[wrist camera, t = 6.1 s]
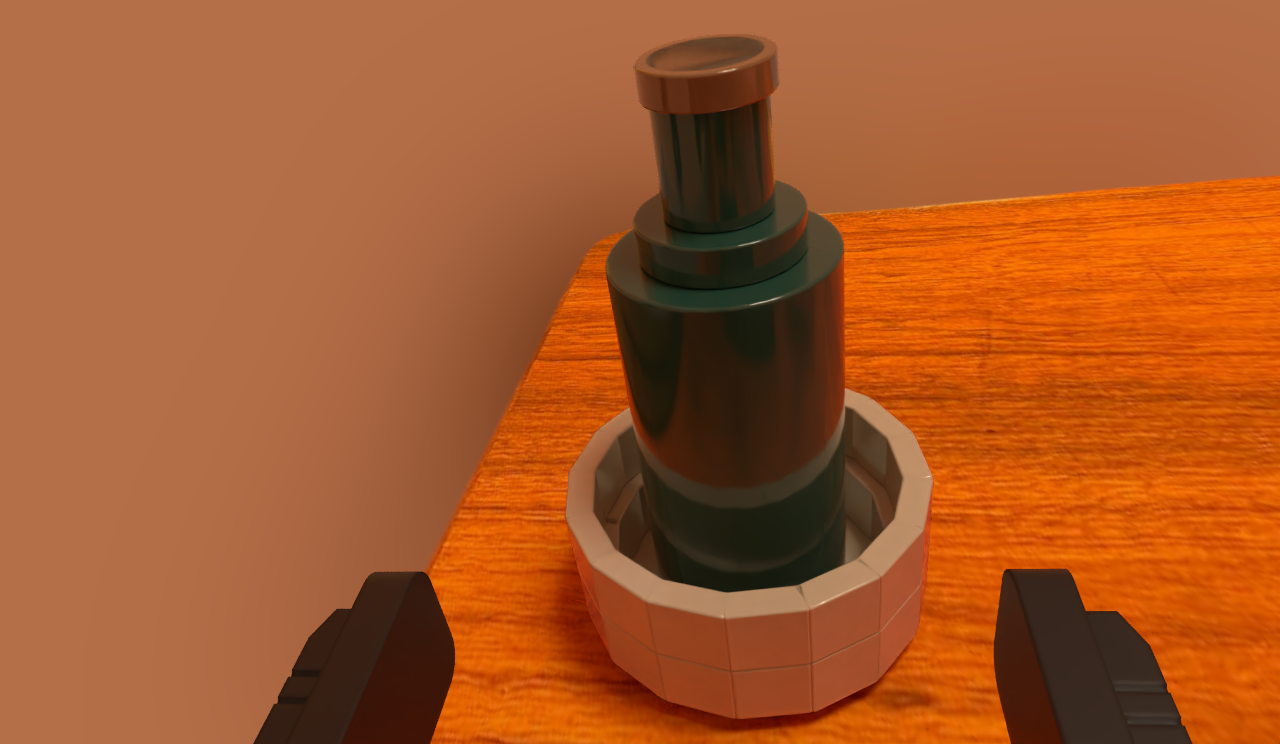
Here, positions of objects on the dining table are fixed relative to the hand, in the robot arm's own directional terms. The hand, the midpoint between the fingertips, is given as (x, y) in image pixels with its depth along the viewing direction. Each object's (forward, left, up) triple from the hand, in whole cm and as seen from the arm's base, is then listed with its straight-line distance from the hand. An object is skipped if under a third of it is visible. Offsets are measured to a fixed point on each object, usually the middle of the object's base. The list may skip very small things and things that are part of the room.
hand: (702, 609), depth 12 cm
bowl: (+5, +9, -11) cm, 15 cm away
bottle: (+5, +9, -11) cm, 15 cm away
